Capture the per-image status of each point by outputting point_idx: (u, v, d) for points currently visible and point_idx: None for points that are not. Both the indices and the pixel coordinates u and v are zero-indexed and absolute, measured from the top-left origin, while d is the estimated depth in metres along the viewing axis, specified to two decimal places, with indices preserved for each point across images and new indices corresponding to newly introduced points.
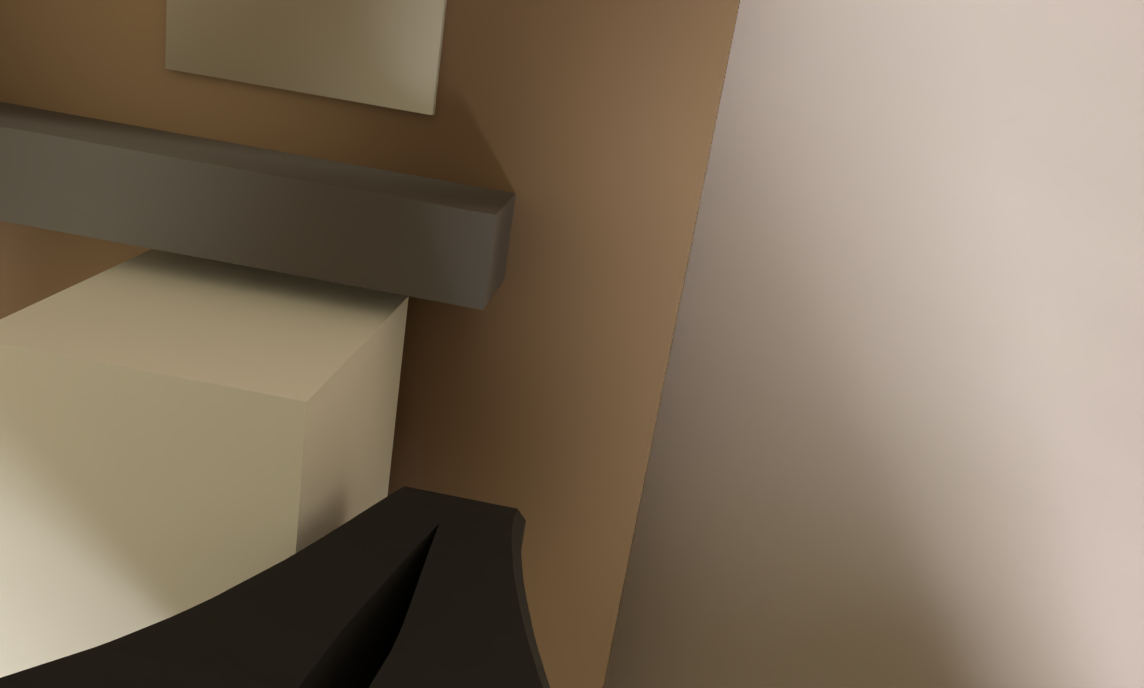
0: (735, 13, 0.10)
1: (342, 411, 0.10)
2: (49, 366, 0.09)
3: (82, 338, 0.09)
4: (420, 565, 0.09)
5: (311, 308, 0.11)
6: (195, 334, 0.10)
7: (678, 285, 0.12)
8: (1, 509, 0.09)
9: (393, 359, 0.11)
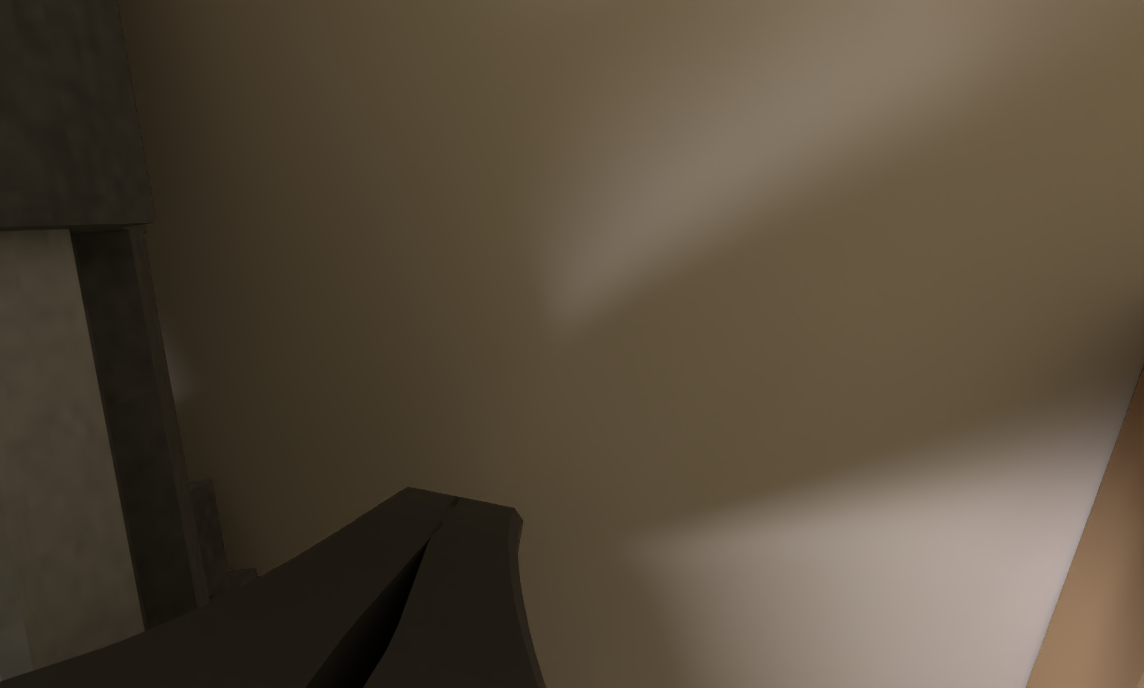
0: None
1: None
2: None
3: None
4: None
5: None
6: None
7: None
8: None
9: None
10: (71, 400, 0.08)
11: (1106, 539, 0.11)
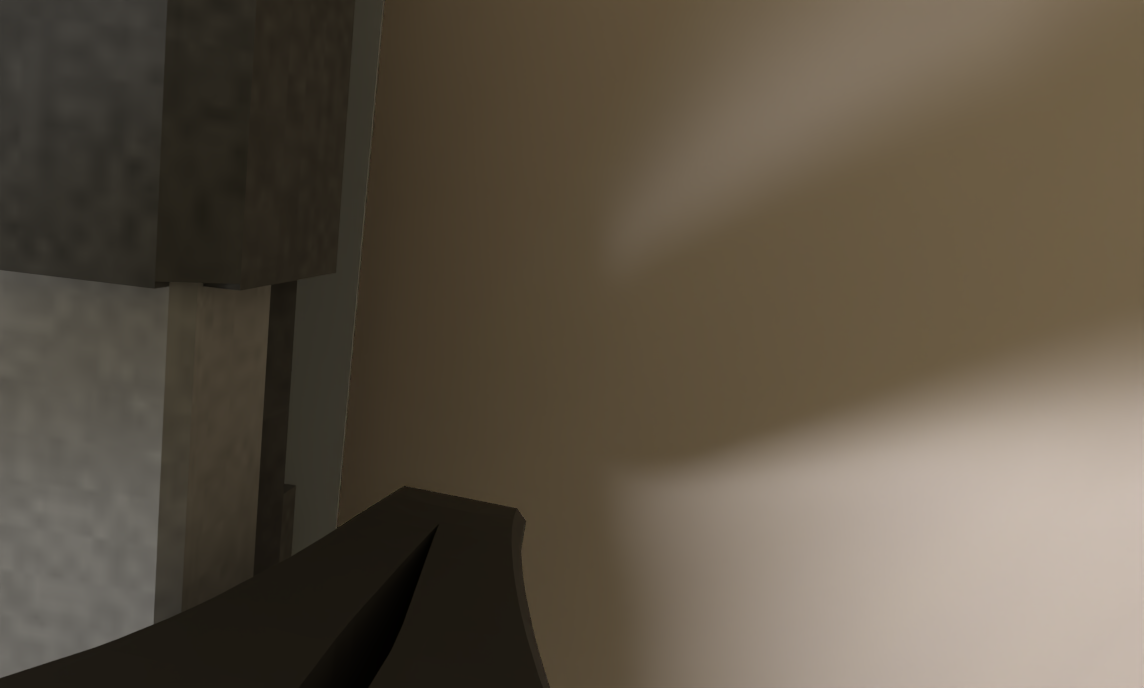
0: None
1: None
2: None
3: None
4: (421, 565, 0.09)
5: None
6: None
7: None
8: None
9: None
10: (244, 434, 0.09)
11: None
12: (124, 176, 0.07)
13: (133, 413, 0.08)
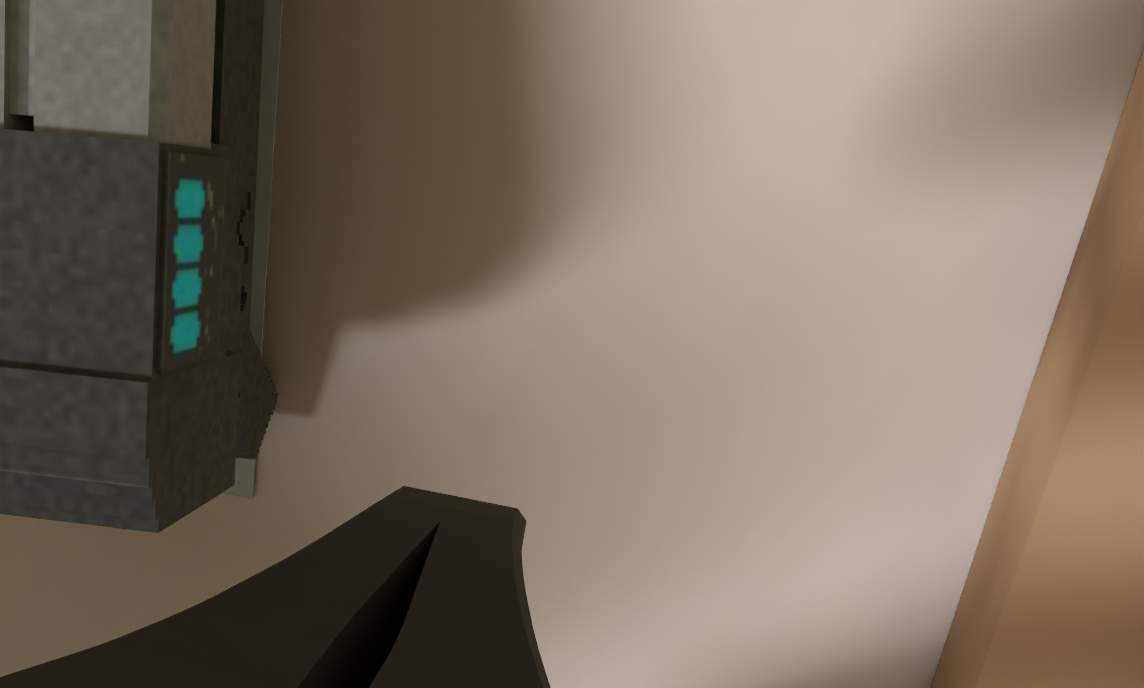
0: None
1: None
2: None
3: None
4: (420, 565, 0.09)
5: None
6: None
7: None
8: None
9: None
10: None
11: None
12: None
13: None
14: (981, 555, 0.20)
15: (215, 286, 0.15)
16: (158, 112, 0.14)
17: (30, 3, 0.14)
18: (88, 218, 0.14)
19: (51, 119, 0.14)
